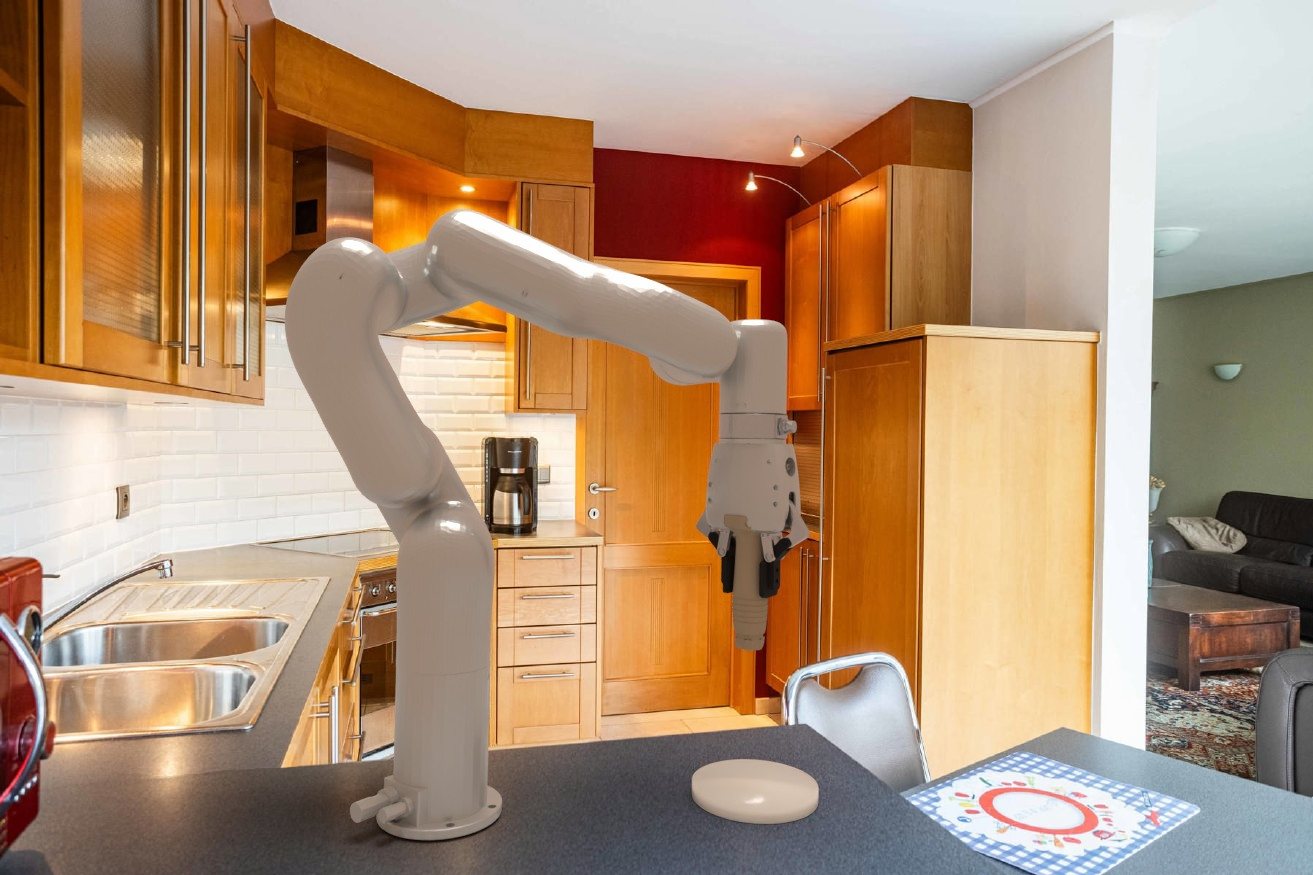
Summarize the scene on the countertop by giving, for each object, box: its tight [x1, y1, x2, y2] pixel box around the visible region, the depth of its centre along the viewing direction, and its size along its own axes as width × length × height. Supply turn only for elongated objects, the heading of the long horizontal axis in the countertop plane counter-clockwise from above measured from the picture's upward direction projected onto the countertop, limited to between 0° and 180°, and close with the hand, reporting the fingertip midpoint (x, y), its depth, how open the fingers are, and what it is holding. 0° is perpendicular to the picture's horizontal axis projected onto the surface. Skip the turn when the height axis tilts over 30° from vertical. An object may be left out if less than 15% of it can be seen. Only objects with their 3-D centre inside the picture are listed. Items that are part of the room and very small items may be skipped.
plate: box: [691, 758, 820, 825], centre depth 95 cm, size 14×14×2 cm
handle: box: [724, 515, 769, 652], centre depth 96 cm, size 5×6×15 cm
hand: (750, 592), depth 96 cm, fingers closed on handle, 4 cm apart
